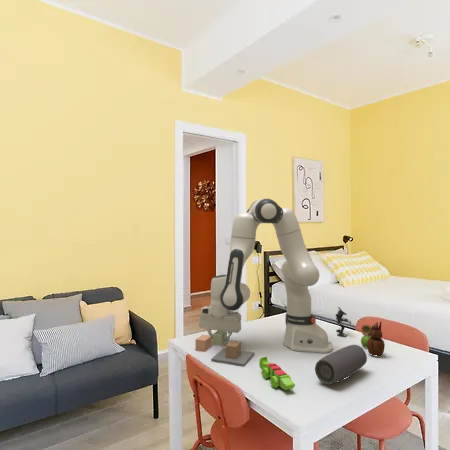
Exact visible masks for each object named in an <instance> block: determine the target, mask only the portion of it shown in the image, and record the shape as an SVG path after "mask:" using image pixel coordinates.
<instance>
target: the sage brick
mask: <svg viewBox="0 0 450 450" xmlns="http://www.w3.org/2000/svg"><path fill="white" fill-rule="evenodd" d="M227 336H228V332H226V331H219V330H215V332H214V333H212V346H217V347H223V346H225V344H226V343H228V341H226V337H227Z"/></svg>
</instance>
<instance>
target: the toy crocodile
mask: <svg viewBox="0 0 450 450" xmlns="http://www.w3.org/2000/svg"><path fill="white" fill-rule="evenodd" d="M258 365H259V368H260V370H261V374H262V378H263V379H265V380H267V379H269V380H270V381H269V382H270V386H271V388H273V389H277V388H278V387H280V388H281V389H283V390H284V391H285V390H286V391H287V390H290V389H294V388H295V386H296V385H295V383H294V382H293V381H292V378H291V375H290V374H288V373H287V372H286V371H285V370H283V369H282V368H281V366H280V365H278V364H277V363H275V362H274V363H273V362H270V361H269V360H268V356H262V357H261V358H259V361H258Z"/></svg>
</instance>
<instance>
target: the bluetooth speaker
mask: <svg viewBox="0 0 450 450" xmlns="http://www.w3.org/2000/svg"><path fill="white" fill-rule="evenodd" d="M367 360H368V357H367V353H366V351H365V350H364V347H362V346H360V345H359V344H351V345H347V346H344V347H342V348H339V349H337V350H335V351H333V352H330V353H328V354H327V355H325V356H323V357H321V358H320V359H319V360H318V361H317V362H316V363H315V367H314V371H315V375H316V377H317V379H318V380H319V381H320V382H322V383H323V384H325V385H326V384H327V385H330V384H331V385H332V384H335V383H338V382H337V381H341V380H343V379H344V378H346V377H348V376H350V375H353V374H354V373H355V372H357V371H358V370H361V368H362V367H364V366H365V364H366V363H367V362H368V361H367ZM350 377H351V376H350ZM348 378H349V377H348ZM346 379H347V378H346ZM343 381H344V380H343ZM341 382H342V381H341Z"/></svg>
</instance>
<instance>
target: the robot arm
mask: <svg viewBox="0 0 450 450" xmlns="http://www.w3.org/2000/svg"><path fill="white" fill-rule="evenodd" d="M232 223H233V224H232V229H231V236H230V249H229V260H228V264H227V273H226V274H220V275H219V274H218V275H216V276H213V277H212V279H211V282H210V296H211V298H210V305H206V306H203V307H202V308H201V309H200V314H199V316H198V327H199V328H200V329H205V330H206V331H207V333H208V336H212V334H213V333H212V331H218V330H219V331H226V332H227V337H226V341H227V342H230V341H231V336H232V334H234V333H236V334H237V333H238V334H239V333H240V332H241V330H242V321H241V320H242V315H241V313H239V311H238V310H239V309H240V308H241V307H242V306H243V305H244V304H245V303H246V302H247V301H248V300H249V299H250V296H251V290H250V288H249V286H248V285H247V284H245V283H243V282H241V281H242V277H243V276H242V275H243V269H244V265H245V263H246V262H247V260H248V259H249V258H250V257H251V255H252V254H253V252H254V248H255V246H256V238H257V230H258V227H259V226H260V225H261V224H271V225H272V226H273V227H274V231H275V234H276V238H277V242H278V246H279V249H280V252H281V253H282V254H283V257H284V259H285V261H284V262H283V263H282V264H281V268H280V269H281V272H282V276H283V280H284V287H285V291H286V313H285V319H284V321H285V333H284V337H283V341H282V344H283V345H284V346H285V347H287V348H289V349H291V351H295V352H305V353H307V352H308V353H318V354H319V353H322V354H330V353H332V351H333V349H334V343H332V342H331V341H329V337H328V333H327V332H326V330H325V329H324V328H322V327H321V326H320V325H318V324H317V321H316V320H317V319H316V317H317V316H316V315H313V314H312V296H311V295H312V294H311V293H310V291H309V287H312V286H314V285H316V284H317V283H318V282H319V279H320V270H319V268H317V266H316V265H315V263H314V261H313V259H312V257H311V255H310V253H309V251H308V249H307V247H306V244H305V240H304V238H303V234H302V230H301V227H300V223H299V220H298V218H297V216H296V214H295V212H294V211H293V209H291V208H290V207H281V206H280V205H279V204H278V203H277V202H276V201H274V200H273V199H271V198H264V197H263V198H259V199H257V200H255V201H253V202H252V204H251V205H250V206H249V208H248V209H247V211H246V212H245V211H243V212H239V213H237V214H236V215H235V217H234V220H233V222H232Z"/></svg>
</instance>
